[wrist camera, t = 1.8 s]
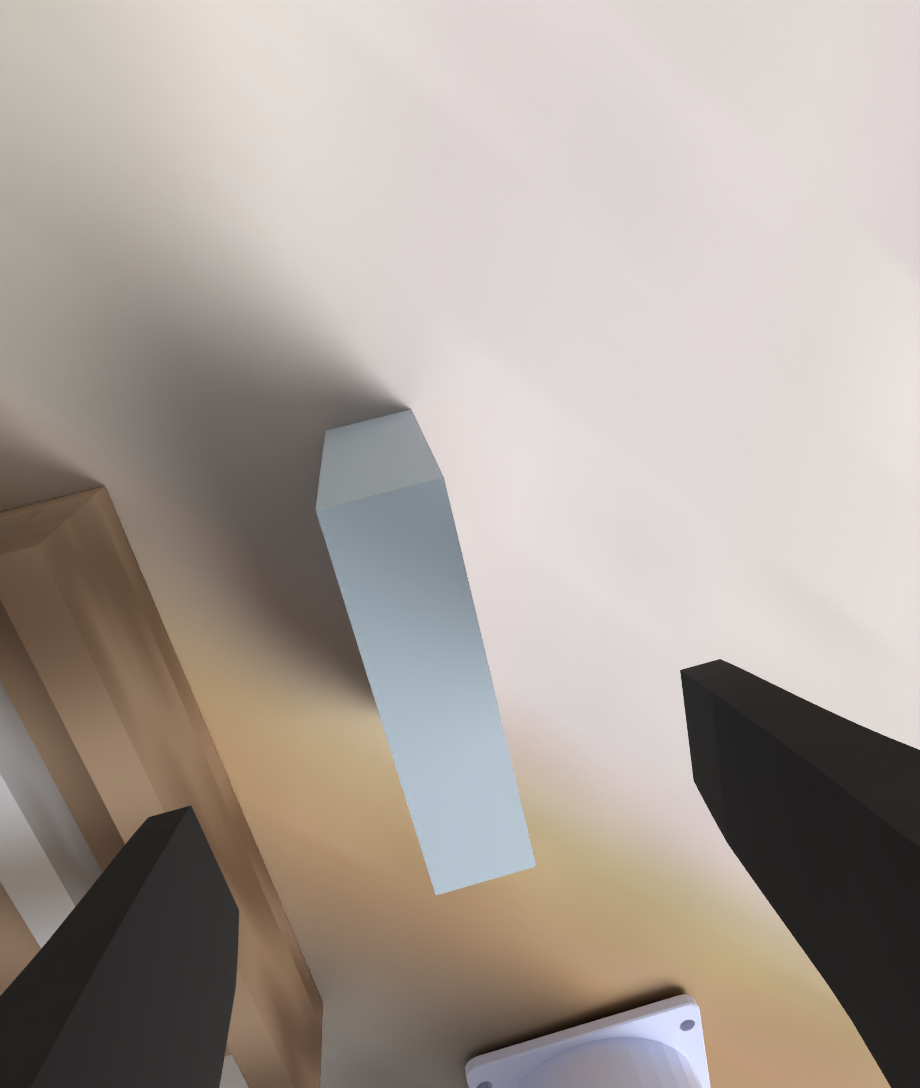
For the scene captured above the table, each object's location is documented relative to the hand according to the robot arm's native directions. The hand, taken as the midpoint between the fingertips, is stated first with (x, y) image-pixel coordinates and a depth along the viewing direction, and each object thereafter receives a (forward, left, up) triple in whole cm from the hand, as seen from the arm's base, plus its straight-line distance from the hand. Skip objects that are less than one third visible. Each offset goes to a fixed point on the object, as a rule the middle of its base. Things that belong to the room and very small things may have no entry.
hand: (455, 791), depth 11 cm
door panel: (0, 0, -8) cm, 8 cm away
